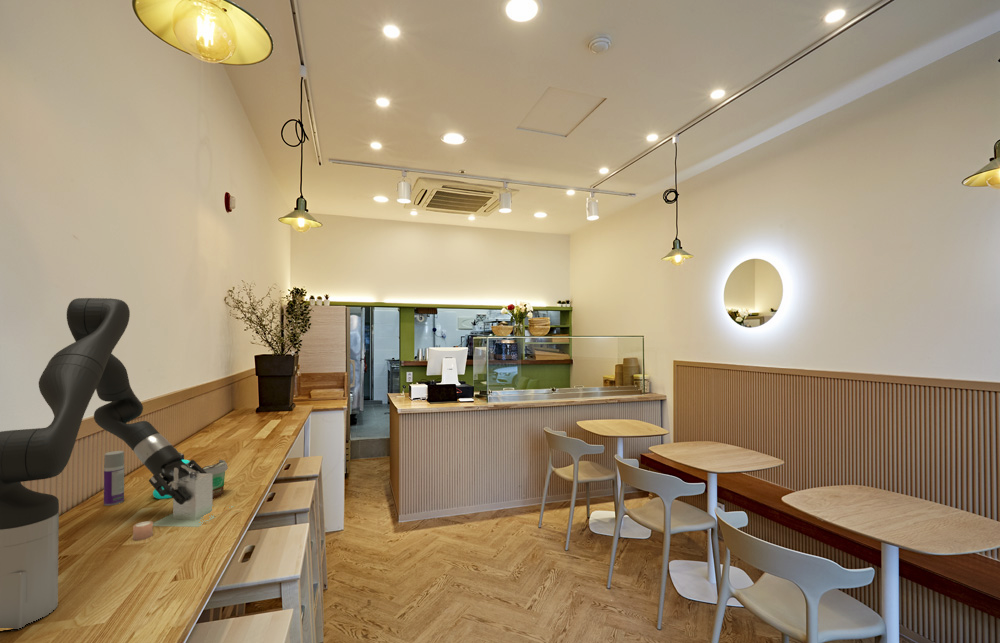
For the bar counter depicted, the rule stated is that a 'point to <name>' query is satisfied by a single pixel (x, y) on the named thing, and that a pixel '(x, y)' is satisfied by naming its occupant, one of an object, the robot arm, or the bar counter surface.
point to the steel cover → (194, 496)
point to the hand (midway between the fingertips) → (196, 496)
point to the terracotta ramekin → (142, 530)
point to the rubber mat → (180, 522)
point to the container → (113, 478)
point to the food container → (217, 476)
